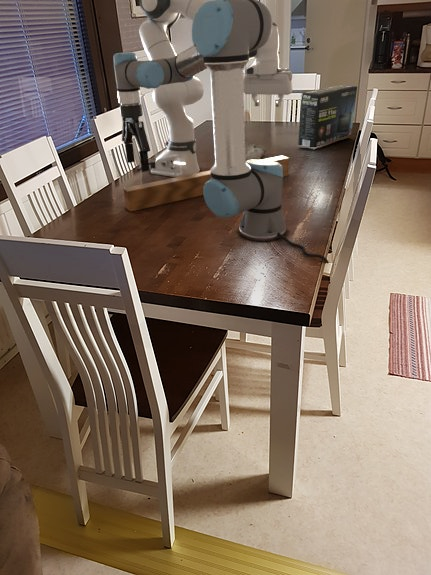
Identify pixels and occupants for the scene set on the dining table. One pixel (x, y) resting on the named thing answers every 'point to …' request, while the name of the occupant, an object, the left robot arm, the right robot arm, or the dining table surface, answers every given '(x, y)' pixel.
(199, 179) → the bar
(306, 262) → the dining table surface
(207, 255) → the dining table surface
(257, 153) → the fossil
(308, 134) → the router box
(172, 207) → the dining table surface
